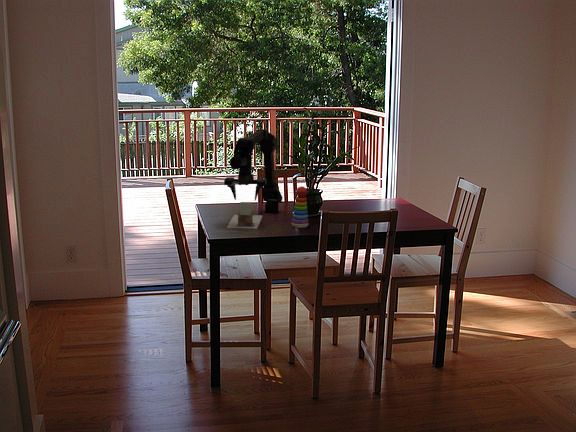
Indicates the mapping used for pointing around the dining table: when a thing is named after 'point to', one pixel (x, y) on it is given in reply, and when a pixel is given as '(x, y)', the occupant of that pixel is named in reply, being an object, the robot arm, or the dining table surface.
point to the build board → (234, 224)
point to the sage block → (245, 208)
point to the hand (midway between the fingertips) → (245, 200)
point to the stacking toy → (300, 209)
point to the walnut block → (245, 220)
